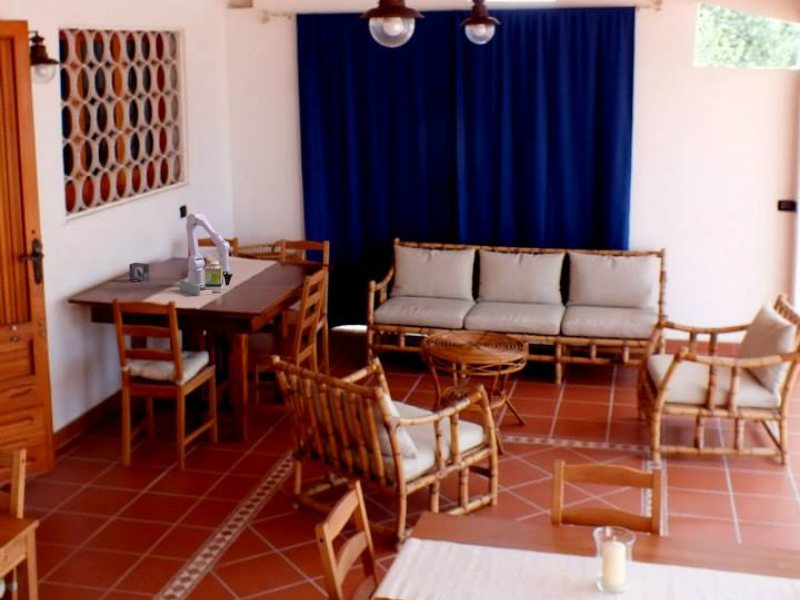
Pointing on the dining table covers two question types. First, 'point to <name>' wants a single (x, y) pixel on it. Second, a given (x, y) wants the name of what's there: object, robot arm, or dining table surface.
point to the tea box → (214, 277)
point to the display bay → (193, 288)
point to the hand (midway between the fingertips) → (224, 284)
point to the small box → (139, 271)
